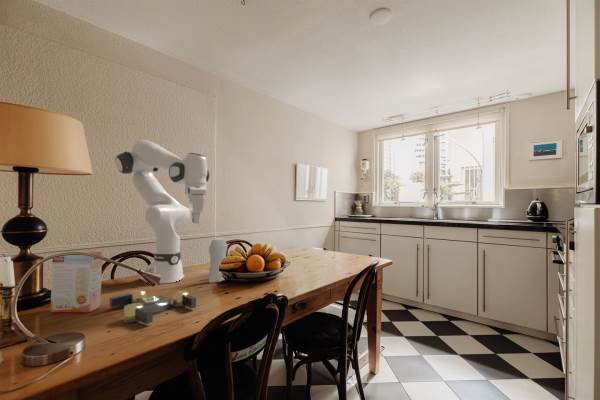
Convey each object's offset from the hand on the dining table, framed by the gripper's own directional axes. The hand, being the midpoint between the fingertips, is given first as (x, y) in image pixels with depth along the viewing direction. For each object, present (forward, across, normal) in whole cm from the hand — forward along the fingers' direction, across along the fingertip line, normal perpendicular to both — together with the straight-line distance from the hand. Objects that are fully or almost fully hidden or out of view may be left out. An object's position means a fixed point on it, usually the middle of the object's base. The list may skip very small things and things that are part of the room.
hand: (195, 222), depth 118 cm
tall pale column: (+31, -21, +14) cm, 40 cm away
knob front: (+31, +20, -19) cm, 41 cm away
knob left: (+31, +12, -4) cm, 33 cm away
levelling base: (+31, +9, -16) cm, 36 cm away
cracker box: (+31, -1, -40) cm, 51 cm away
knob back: (+31, +2, -23) cm, 39 cm away
